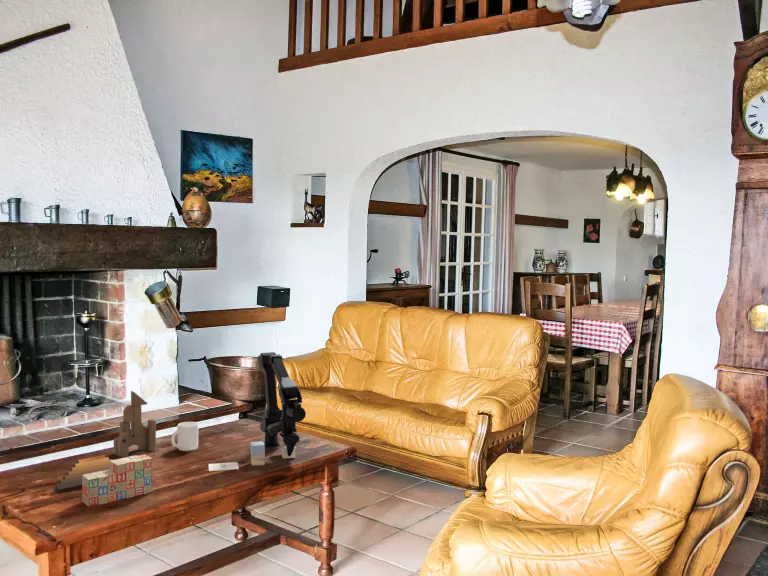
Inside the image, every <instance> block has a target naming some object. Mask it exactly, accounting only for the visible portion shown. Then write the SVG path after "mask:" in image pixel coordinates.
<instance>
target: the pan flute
mask: <svg viewBox="0 0 768 576" xmlns="http://www.w3.org/2000/svg"><path fill="white" fill-rule="evenodd" d="M111 460H113V459H110V458H109V456H108V457H106V455H105V454H102V455H97V456H93V457H87V458H83V459H79V460H76V463H75V464H74V465H72V467H71V468H69V471H67V472H66V475H64V476H62V479H60V481H59V482H58V483H57V484H56V485H55V486H54V489H55V492H56V493H57V494H62V493H63V494H64V493H66V492H72V491H75V490H79V489H82V475H85V474H90V473H94V472H99V471H105V470H110V461H111Z"/></svg>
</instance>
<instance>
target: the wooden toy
mask: <svg viewBox="0 0 768 576" xmlns="http://www.w3.org/2000/svg"><path fill="white" fill-rule="evenodd" d="M145 405H146V406H147V405H148V402H147V401H146V400H145V399H143V398H142V397H141V396H140V395H139V394H137V392H135V391H133V390H131V391H130V404H128V405H126V407H125V408H124V409H123V410H122V412H123V413H122V417H123V418H122V421H119V435H118V437H116V438H113V455H114V456H117V457H119V458H120V457H121V458H126V457H130V456H129V454H130V453H129V452H130V451H129V449H130V447H131V446H134V445H135V446H137V450H139V451H140V452H142V451H148V452H154V451H155V452H156V451H157V437H156V436H157V421H156V420H157V419H155V418H152V419H151V418H150V419H148V420H147V426H146V425H144V424H143V422H142V406H145Z"/></svg>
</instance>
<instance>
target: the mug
mask: <svg viewBox="0 0 768 576" xmlns="http://www.w3.org/2000/svg"><path fill="white" fill-rule="evenodd" d="M176 436H177V443H176V441H175V439H176V438H175V437H176ZM170 442H171V445H172V446H173V447H175V448H177V449H178V450H179V451H181V452H192V451H195V450H197V449H198V447H199V423H198V422H197V421H183V422H180V423H178V424H177V429H176V430H174V432H173V433H172V435H171V439H170Z"/></svg>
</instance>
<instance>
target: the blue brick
mask: <svg viewBox="0 0 768 576" xmlns="http://www.w3.org/2000/svg"><path fill="white" fill-rule="evenodd" d="M263 441H264V440H262V441H251V442H250V456H251V455H252V456H258V455H265V456H266V454H265V453H266V451H265V450H266V449H265V448H266V446H265V444H264V442H263Z"/></svg>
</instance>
